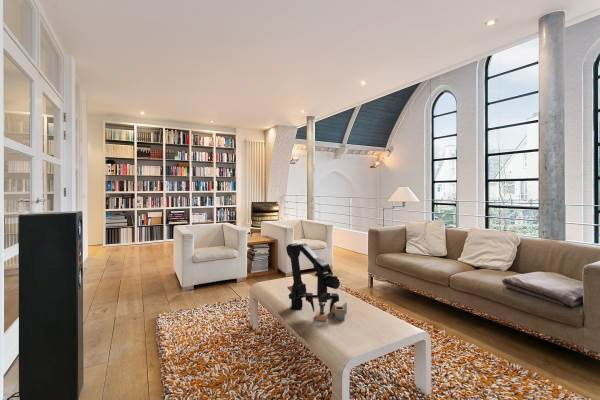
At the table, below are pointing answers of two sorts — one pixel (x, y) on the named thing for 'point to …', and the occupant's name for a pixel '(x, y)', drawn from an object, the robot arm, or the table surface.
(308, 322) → the table surface
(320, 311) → the hinge pin
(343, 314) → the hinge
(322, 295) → the robot arm
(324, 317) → the pin holder
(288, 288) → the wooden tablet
